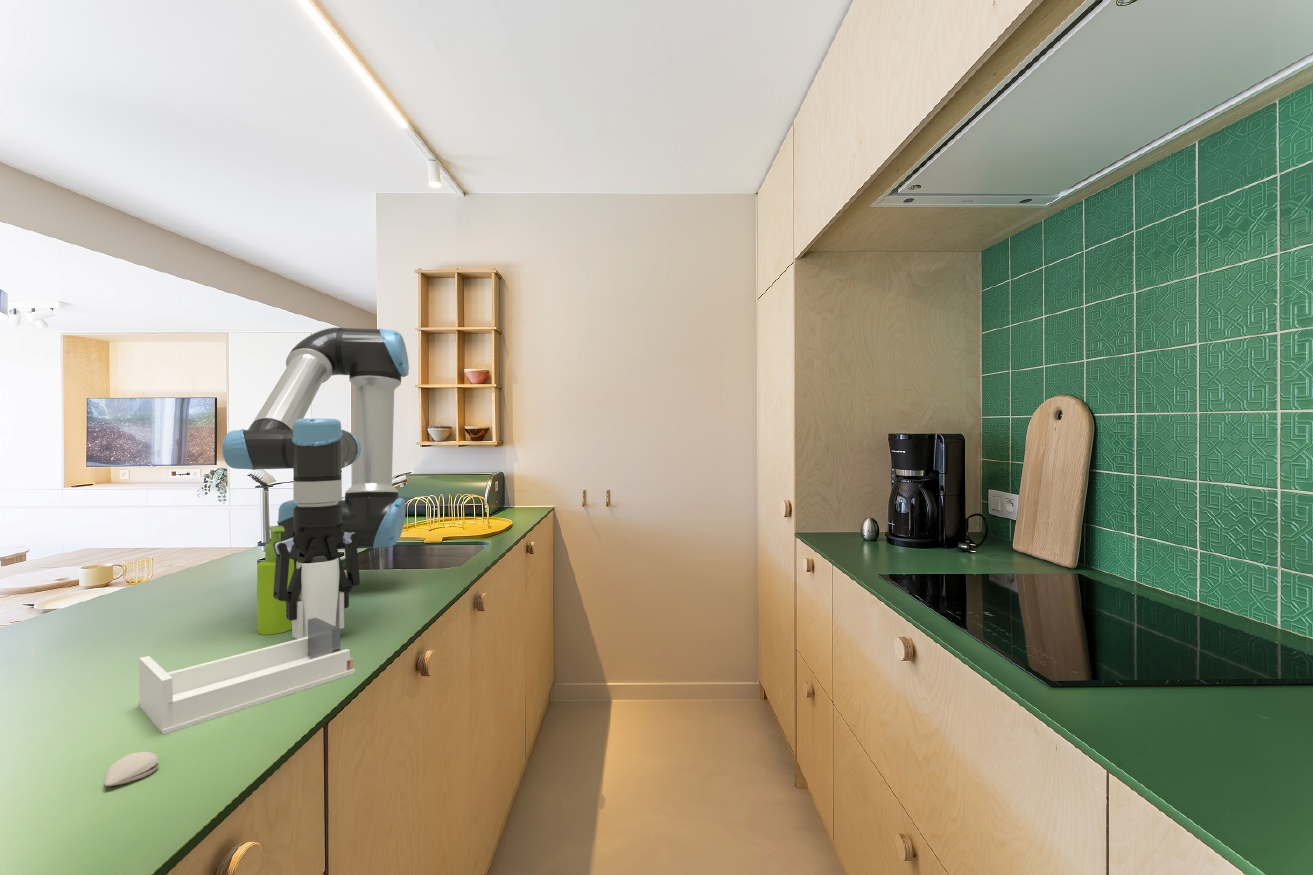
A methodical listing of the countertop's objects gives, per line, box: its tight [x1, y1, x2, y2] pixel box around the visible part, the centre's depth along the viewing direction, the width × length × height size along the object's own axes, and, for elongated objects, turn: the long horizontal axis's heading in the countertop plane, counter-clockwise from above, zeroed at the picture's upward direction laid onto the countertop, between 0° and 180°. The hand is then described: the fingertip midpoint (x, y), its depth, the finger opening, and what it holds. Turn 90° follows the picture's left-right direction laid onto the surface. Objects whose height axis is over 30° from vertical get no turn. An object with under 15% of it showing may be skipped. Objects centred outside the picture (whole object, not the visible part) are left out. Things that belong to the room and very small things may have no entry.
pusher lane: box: [138, 637, 356, 735], centre depth 83 cm, size 23×13×7 cm, turn 142°
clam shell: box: [104, 750, 159, 787], centre depth 61 cm, size 4×5×2 cm
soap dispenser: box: [256, 525, 294, 636], centre depth 109 cm, size 6×7×20 cm
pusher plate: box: [308, 618, 341, 659], centre depth 91 cm, size 1×9×6 cm, turn 52°
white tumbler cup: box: [296, 556, 340, 638], centre depth 102 cm, size 7×7×15 cm
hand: (318, 631), depth 102 cm, fingers closed on white tumbler cup, 6 cm apart
